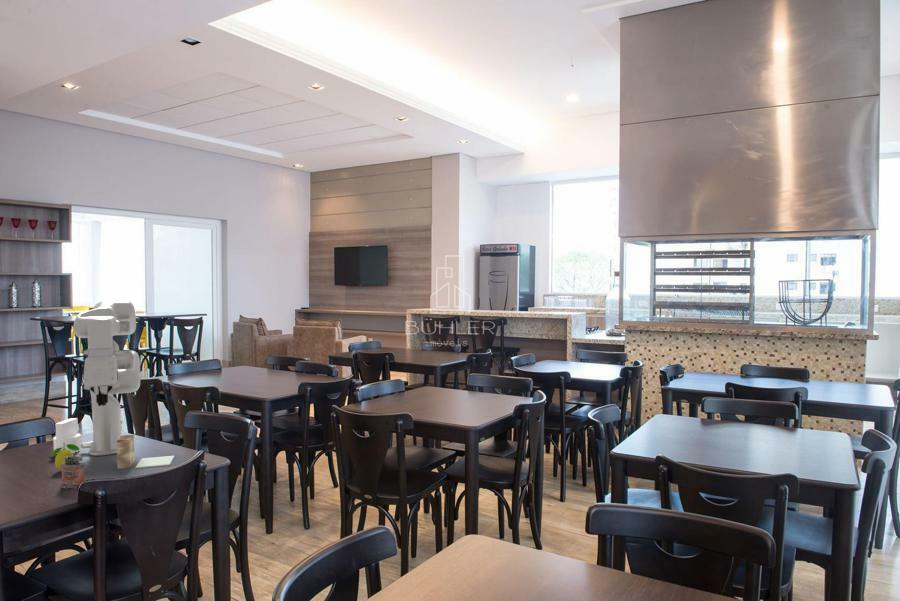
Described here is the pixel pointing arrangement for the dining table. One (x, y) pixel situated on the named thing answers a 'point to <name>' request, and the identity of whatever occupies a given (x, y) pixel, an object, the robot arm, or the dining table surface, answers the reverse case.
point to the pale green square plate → (155, 462)
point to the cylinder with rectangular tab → (67, 434)
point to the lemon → (63, 454)
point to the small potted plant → (72, 472)
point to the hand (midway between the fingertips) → (102, 405)
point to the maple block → (125, 451)
